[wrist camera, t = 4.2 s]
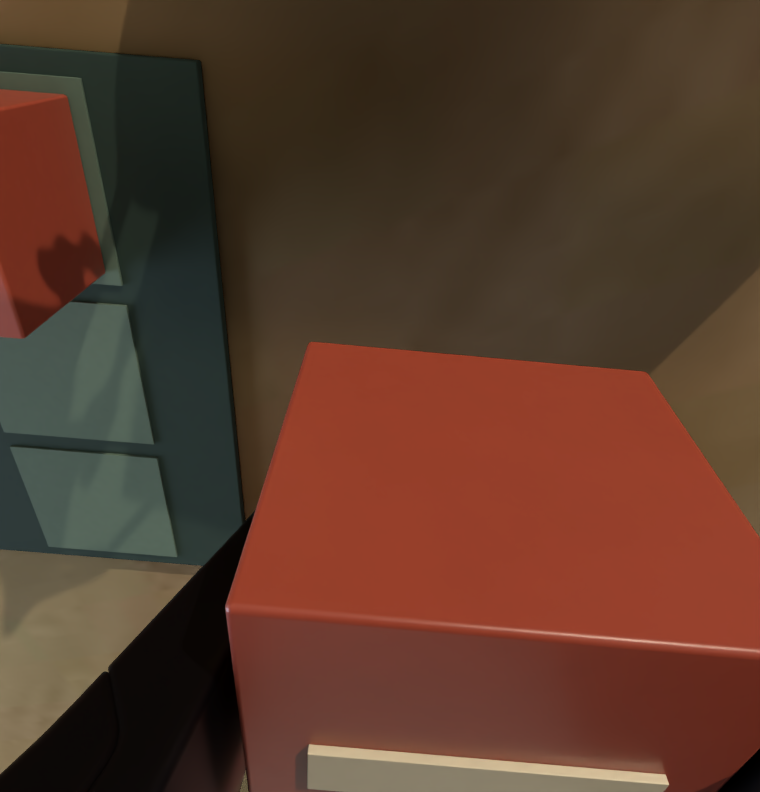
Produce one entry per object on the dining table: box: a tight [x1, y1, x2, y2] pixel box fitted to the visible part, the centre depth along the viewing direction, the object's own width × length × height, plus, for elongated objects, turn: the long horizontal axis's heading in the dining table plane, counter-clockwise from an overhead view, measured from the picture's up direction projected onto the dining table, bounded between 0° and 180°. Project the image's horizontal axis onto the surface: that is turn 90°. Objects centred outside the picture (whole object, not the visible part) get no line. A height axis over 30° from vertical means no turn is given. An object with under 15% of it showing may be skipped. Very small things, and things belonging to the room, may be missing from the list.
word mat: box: [0, 44, 245, 566], centre depth 20 cm, size 20×12×1 cm, turn 176°
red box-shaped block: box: [225, 342, 760, 792], centre depth 8 cm, size 5×5×5 cm
